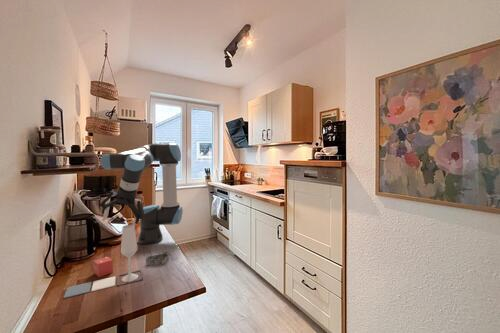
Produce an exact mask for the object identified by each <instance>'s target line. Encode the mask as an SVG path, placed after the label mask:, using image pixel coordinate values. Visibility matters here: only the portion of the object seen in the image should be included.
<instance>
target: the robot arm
mask: <svg viewBox="0 0 500 333" xmlns="http://www.w3.org/2000/svg"><path fill="white" fill-rule="evenodd" d="M181 158H182V153H181V150H180V146H179V145H178V144H177V143H171V142H169V143H168V142H167V143H164V142H163V143H149V144H144V145H141V146H138V147H137V148H135V149H131V150H126V151H121V152H117V153H116V152H115V153H105V154H102V156H101V157H100V165H101V168H102V169H105V170H123V171H122V175H121V178H120V182H119V187H118V190H117V191H116V190H114V189H113V190H111V191H110V192H109V194H108V196H107V197H106V198H105V199H104V200H102V202H100V203H99V205H98V206H99V207H101V208H102V211H101V213H102V214H103V216H102V221H103V222H104V221H106V220H107V218H108V216H109V211H110V207H112V206H114V205H116V204H117V203H119V205H124V206H128V208H129V209H130V210H131V211H132V213H133V216H135V217H134V219H133V221H132V225H134V227H135V228H136V225H138V223H139V224H140V225H139V226H140V230H139V234H138V236H137V237H138V238H137V243H138V244H139V245H153V244H157V243H160V242H161V241H162V240H163V234H162V231H161V228H160V226H168V225H170V226H173V225H179V224H180V222H181V221H182V218H183V210H184V209H183V207H182V206H180V202H178V194H177V192H178V187H177V166H178V165H179V162H180V161H181ZM153 162H159V166H161V169H162V171H161V173H162V195H163V196H162V200H163V201H162V204H151V205H146V206H144V207H143V204H142V202H143V199H142V198H139V199H138V198H136V196H137V192H138V189H139V185H140V182H141V178H142V174H143V173H144V172H145V171H146V170H147V169H148V168H149V167H151V165H152V164H153ZM112 197H116V198H115V199H114V200H112V201H110V202H108V201H109V200H110V199H111V198H112ZM107 202H108V203H107Z"/></svg>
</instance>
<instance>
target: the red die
mask: <svg viewBox="0 0 500 333" xmlns="http://www.w3.org/2000/svg"><path fill="white" fill-rule="evenodd" d="M113 266H114V263H113V259H112V258H111V257H109V256H105V257H102V258H99V259H95V260H93V267H94V268H93V270H94V271H93V272H94V274H95V276H96V277H98V278H100V277H103V276H105V275H108V274H111V273H114V269H113V268H114V267H113Z"/></svg>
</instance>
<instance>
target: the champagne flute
mask: <svg viewBox="0 0 500 333" xmlns="http://www.w3.org/2000/svg"><path fill="white" fill-rule="evenodd" d="M121 228H122V230H121V231H122V232H121V244H120V253H121V254H122V256H124V257H125V258H127V265H128V266H127V267H128V268H127V269H128V272H127V273H128V274H126V275H124V276H123V277H122V278H121V281H122V282H124V283H127V282H131V281H135V280H138V278H139V275H138V274H135V273H131V272H132V257H133V256H134V255H135V254H136V253H137V251H138V244H137V243H138V241H137V236H136V226H135V227H134V225H133V224H126V225H122V227H121Z"/></svg>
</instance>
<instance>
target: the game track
mask: <svg viewBox="0 0 500 333" xmlns="http://www.w3.org/2000/svg"><path fill="white" fill-rule="evenodd" d="M142 272H143V271H142V269H138V270H133V271H131V273H132V274H135V273H140V278H139V279H135V280H133V281H130V282H124V283H120V277H122V276H126V275H128V272H126V273H124V272H123V273H120V274H118V275H117V277H116V276H115V275H114V276H111V277H108V278H103V279H98V280H93V281H89V282H85V283H81V284H76V285H72V286H67V289H66V291H65V293H64V296H63V298H62V299H63V300H64V299H68V298H72V297H76V296H80V295H84V294H88V293H90V292H91V293H92V292H96V291H100V290H101V291H102V290H105V289H108V288H113V287H116V286H117V287H121V286H124V285H128V284H133V283H137V282H140V281H143V280H144V279H143V273H142ZM116 279H117V280H116Z"/></svg>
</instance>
